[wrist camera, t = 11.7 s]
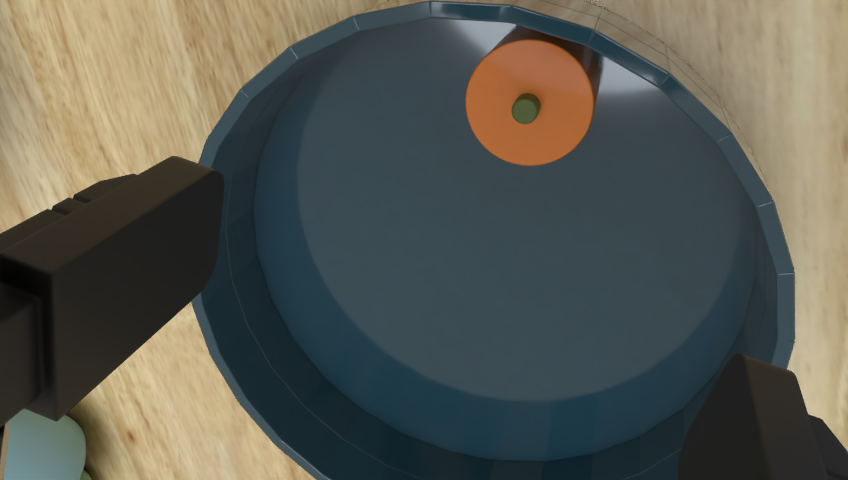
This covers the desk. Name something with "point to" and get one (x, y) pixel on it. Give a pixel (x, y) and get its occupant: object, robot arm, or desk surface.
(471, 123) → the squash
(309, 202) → the bowl
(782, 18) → the desk surface
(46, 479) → the toy flower bud
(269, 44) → the desk surface
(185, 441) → the desk surface
